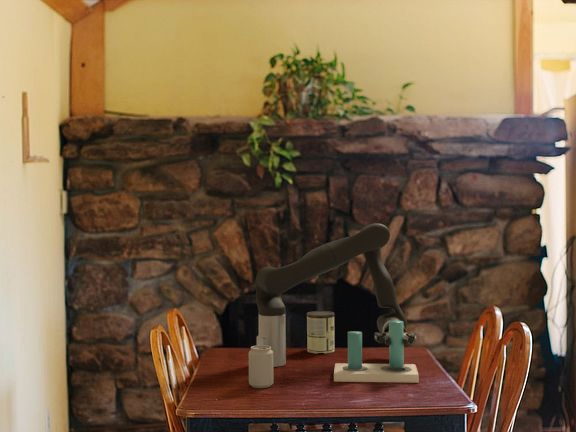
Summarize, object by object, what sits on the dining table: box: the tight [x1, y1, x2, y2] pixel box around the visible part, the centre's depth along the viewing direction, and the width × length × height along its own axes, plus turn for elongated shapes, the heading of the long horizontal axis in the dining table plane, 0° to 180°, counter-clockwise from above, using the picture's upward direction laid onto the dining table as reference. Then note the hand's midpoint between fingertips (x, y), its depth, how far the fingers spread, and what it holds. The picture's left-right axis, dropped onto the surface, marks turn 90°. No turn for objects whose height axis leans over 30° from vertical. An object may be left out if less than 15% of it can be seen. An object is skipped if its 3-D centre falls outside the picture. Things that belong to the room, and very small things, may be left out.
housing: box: [333, 362, 420, 384], centre depth 245 cm, size 14×26×3 cm, turn 85°
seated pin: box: [347, 330, 363, 370], centre depth 245 cm, size 4×4×14 cm
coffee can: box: [306, 310, 335, 354], centre depth 285 cm, size 10×10×14 cm
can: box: [248, 344, 274, 389], centre depth 234 cm, size 8×8×12 cm
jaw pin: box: [388, 321, 405, 367], centre depth 244 cm, size 4×4×14 cm
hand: (396, 342), depth 241 cm, fingers closed on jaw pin, 4 cm apart
